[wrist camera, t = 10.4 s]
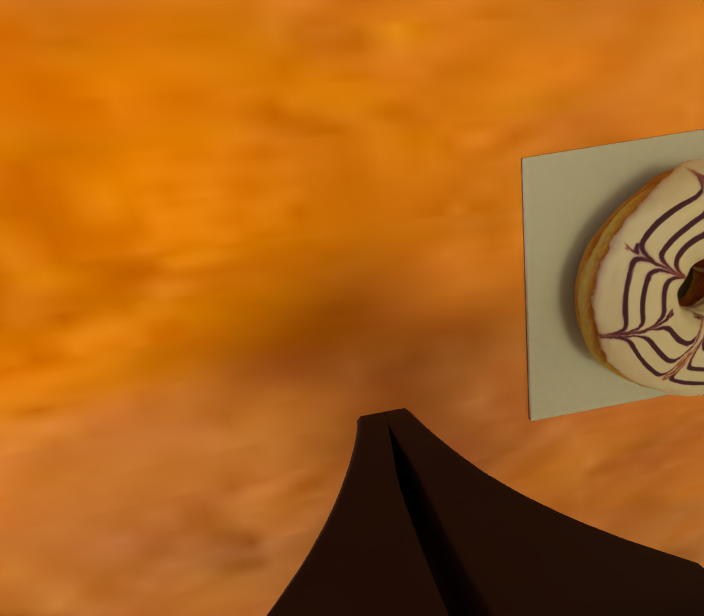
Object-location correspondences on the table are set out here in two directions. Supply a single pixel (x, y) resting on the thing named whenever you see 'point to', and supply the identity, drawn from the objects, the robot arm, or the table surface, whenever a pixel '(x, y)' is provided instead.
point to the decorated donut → (649, 285)
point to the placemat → (567, 251)
